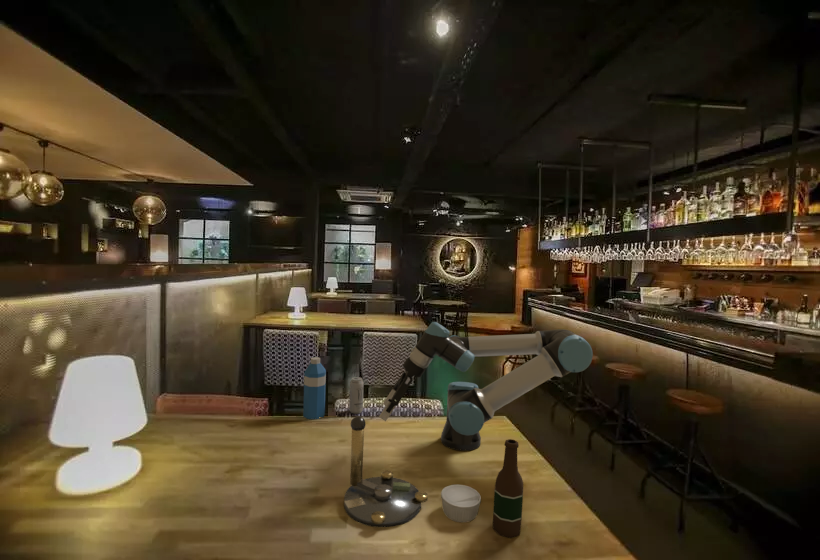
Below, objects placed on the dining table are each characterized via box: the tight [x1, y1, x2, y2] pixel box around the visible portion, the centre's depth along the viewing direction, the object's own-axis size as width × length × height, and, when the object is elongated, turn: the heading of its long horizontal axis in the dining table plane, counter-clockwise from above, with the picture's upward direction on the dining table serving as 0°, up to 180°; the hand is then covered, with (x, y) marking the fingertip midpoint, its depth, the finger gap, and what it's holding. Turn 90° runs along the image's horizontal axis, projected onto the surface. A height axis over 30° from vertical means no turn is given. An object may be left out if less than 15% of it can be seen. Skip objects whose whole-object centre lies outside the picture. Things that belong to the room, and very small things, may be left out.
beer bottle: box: [492, 438, 524, 539], centre depth 116 cm, size 8×8×24 cm
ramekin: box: [440, 484, 482, 523], centre depth 123 cm, size 11×11×5 cm
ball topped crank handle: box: [349, 415, 392, 501], centre depth 128 cm, size 15×5×21 cm, turn 57°
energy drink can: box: [348, 376, 365, 415], centre depth 195 cm, size 6×6×15 cm
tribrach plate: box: [343, 469, 429, 528], centre depth 126 cm, size 24×26×3 cm
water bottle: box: [302, 356, 327, 420], centre depth 189 cm, size 9×9×25 cm
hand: (384, 412), depth 155 cm, fingers open, 13 cm apart
